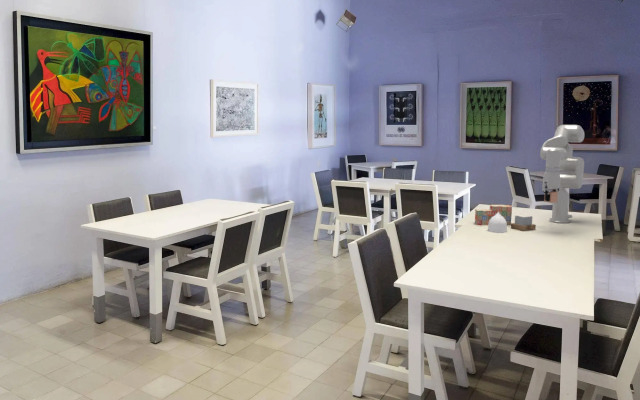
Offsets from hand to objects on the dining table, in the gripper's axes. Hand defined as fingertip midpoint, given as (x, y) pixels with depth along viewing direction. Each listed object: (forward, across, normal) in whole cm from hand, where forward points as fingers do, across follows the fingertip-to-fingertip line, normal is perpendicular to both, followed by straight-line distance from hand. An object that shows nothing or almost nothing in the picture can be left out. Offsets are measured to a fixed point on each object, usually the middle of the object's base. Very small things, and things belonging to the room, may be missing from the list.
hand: (550, 200), depth 325 cm
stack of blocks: (+20, +14, -32) cm, 40 cm away
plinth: (+19, +8, -12) cm, 24 cm away
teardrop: (+19, +26, -15) cm, 36 cm away
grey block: (+16, +8, -12) cm, 22 cm away
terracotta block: (+1, 0, 0) cm, 1 cm away
